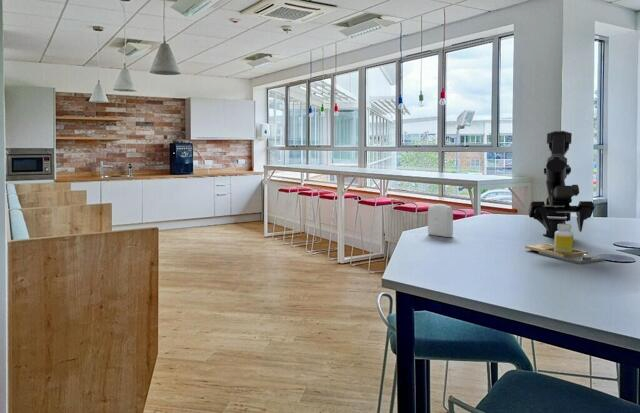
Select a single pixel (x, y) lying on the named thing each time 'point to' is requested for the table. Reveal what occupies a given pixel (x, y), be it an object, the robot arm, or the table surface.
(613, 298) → the table surface
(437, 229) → the photo printer
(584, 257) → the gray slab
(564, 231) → the supplement bottle
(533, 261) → the table surface
